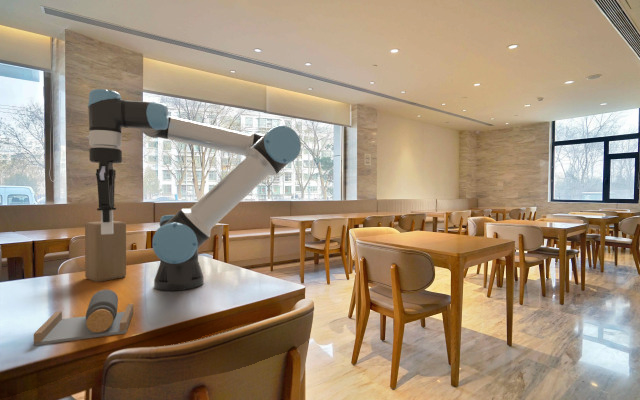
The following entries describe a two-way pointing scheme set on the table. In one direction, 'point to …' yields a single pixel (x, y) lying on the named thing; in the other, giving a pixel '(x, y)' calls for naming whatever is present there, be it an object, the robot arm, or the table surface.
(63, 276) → the table surface
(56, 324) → the grey tray
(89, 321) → the bottle
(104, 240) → the wooden block
